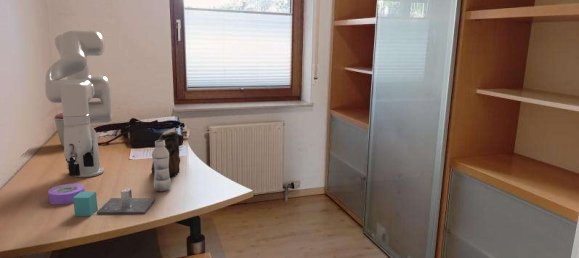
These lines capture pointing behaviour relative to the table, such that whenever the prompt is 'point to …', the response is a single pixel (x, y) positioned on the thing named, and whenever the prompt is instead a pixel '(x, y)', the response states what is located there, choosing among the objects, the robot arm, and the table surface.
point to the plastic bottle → (161, 166)
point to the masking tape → (64, 193)
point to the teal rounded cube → (85, 203)
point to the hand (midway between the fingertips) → (82, 170)
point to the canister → (60, 126)
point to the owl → (171, 151)
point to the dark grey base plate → (126, 204)
